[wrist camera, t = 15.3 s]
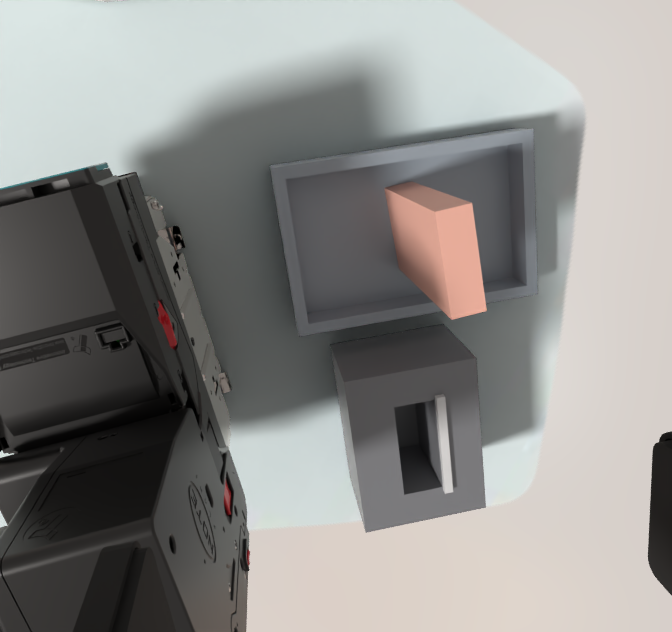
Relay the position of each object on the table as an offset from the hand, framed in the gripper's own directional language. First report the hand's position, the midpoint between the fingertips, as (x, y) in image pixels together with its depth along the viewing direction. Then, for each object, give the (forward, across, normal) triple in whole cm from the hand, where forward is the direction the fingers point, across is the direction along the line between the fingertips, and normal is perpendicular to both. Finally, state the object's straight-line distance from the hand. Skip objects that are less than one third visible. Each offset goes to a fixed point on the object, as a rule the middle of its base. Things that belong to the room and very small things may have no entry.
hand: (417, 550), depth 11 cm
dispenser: (+33, -6, +15) cm, 37 cm away
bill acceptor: (+34, +12, +5) cm, 36 cm away
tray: (+33, -8, +1) cm, 34 cm away
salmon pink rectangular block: (+33, -8, +1) cm, 34 cm away
